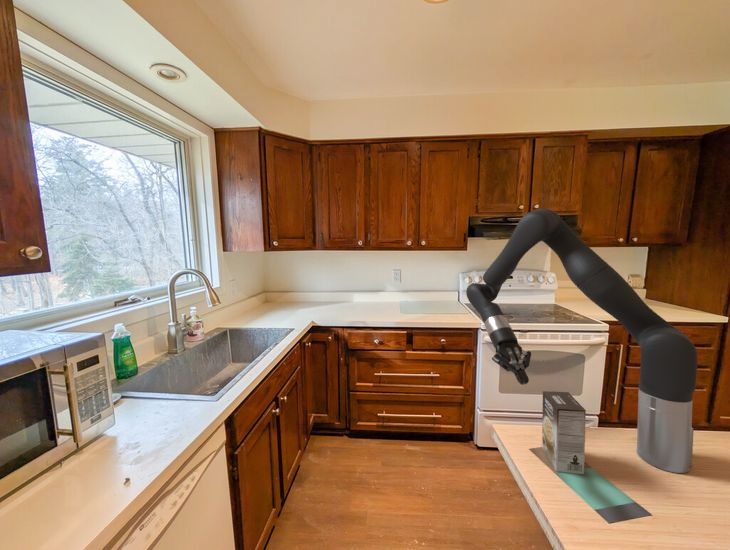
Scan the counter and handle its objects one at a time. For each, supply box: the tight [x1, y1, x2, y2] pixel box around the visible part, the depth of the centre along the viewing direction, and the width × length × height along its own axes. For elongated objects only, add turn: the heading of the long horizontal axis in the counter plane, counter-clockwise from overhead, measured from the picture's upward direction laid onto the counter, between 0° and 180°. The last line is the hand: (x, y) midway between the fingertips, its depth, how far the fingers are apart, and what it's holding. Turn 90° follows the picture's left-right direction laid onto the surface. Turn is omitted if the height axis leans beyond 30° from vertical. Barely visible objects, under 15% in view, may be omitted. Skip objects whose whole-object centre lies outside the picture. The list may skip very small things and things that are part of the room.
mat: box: [528, 446, 653, 524], centre depth 68 cm, size 10×22×1 cm, turn 9°
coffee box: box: [541, 390, 587, 474], centre depth 73 cm, size 9×6×16 cm
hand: (525, 383), depth 85 cm, fingers closed
